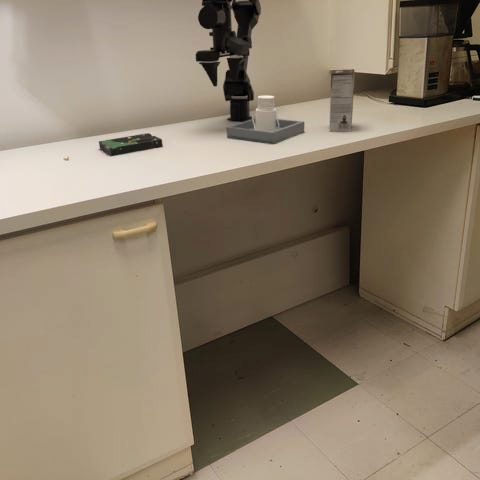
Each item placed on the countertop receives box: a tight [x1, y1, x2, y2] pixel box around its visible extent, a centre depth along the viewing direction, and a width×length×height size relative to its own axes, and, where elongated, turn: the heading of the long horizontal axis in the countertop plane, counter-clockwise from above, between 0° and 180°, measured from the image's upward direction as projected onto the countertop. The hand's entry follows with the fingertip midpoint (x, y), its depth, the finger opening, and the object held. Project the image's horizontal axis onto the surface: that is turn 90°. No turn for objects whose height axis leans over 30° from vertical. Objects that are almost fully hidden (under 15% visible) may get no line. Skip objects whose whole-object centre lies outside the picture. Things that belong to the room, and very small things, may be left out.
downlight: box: [251, 94, 279, 132], centre depth 136 cm, size 8×7×10 cm
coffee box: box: [329, 68, 355, 132], centre depth 139 cm, size 9×6×16 cm
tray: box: [226, 117, 305, 145], centre depth 138 cm, size 16×16×3 cm
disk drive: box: [98, 132, 164, 157], centre depth 132 cm, size 10×3×15 cm
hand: (225, 84), depth 145 cm, fingers open, 9 cm apart
